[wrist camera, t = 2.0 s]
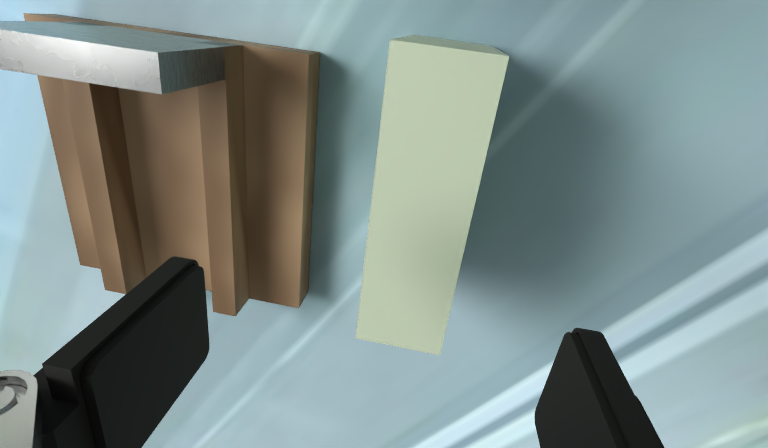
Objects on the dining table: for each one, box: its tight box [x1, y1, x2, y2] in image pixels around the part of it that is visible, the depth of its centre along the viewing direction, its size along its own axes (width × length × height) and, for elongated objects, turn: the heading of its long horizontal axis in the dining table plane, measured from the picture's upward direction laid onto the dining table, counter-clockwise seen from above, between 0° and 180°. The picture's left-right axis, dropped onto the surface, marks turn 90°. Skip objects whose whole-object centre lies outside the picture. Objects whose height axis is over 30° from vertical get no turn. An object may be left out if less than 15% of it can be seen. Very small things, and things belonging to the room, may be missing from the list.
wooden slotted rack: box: [23, 13, 320, 316], centre depth 26 cm, size 16×16×4 cm
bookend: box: [0, 21, 239, 94], centre depth 19 cm, size 9×2×7 cm, turn 83°
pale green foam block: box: [356, 35, 509, 355], centre depth 21 cm, size 4×13×9 cm, turn 173°
